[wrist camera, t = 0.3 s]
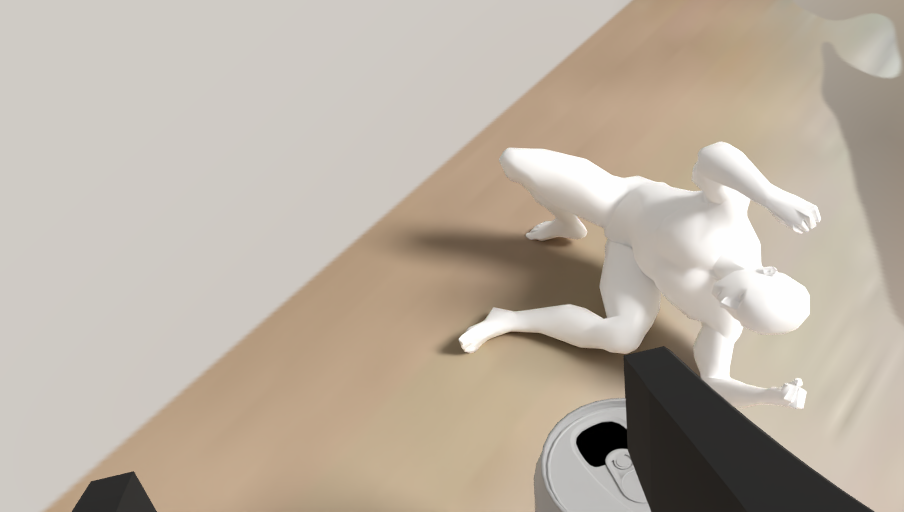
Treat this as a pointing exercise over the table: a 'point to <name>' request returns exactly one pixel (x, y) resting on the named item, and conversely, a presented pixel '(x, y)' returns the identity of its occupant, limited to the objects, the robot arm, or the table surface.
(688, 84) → the table surface
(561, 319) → the person figurine
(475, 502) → the table surface
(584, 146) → the table surface
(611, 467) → the energy drink
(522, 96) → the table surface
